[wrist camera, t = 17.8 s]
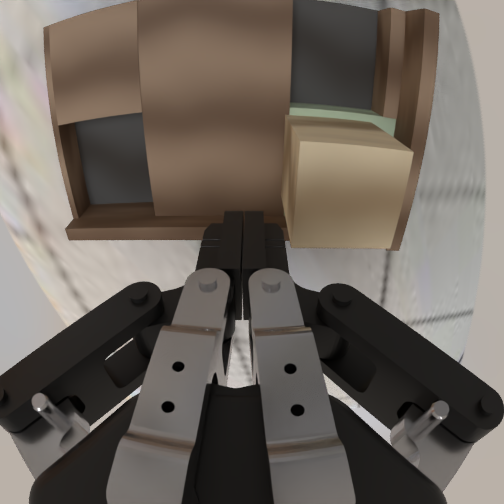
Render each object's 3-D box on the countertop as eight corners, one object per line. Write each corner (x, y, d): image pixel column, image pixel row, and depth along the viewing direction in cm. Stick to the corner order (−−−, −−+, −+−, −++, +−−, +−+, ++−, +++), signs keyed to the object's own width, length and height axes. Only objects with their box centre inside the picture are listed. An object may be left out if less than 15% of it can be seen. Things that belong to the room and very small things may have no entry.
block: (285, 114, 18) (299, 140, 13) (371, 122, 18) (413, 152, 13) (281, 195, 21) (291, 247, 16) (359, 198, 21) (390, 248, 16)
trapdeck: (62, 27, 15) (21, 28, 11) (402, 17, 15) (439, 13, 11) (89, 214, 24) (63, 247, 20) (376, 214, 24) (398, 250, 20)
